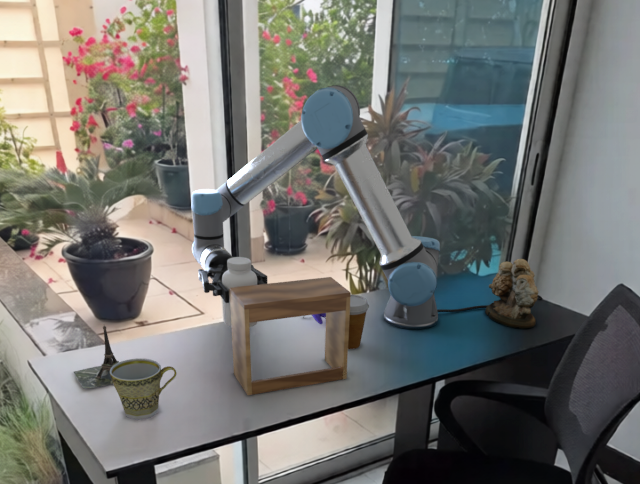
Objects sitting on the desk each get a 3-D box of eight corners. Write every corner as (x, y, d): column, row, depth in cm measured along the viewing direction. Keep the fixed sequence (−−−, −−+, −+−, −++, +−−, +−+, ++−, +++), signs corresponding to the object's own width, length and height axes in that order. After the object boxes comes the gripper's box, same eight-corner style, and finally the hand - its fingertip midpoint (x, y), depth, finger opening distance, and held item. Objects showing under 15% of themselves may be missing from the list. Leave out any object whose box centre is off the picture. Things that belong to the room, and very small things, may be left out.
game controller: (321, 319, 174) (300, 300, 179) (324, 341, 180) (303, 323, 185) (351, 302, 177) (329, 284, 182) (353, 325, 183) (332, 307, 189)
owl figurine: (472, 310, 194) (481, 253, 185) (502, 304, 199) (512, 248, 190) (514, 332, 181) (526, 271, 172) (545, 325, 186) (558, 266, 177)
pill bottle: (252, 331, 151) (250, 267, 143) (219, 327, 152) (215, 263, 144) (262, 318, 157) (261, 256, 149) (230, 314, 158) (227, 253, 151)
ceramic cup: (120, 427, 131) (113, 383, 126) (113, 404, 139) (106, 362, 134) (184, 416, 136) (180, 373, 130) (174, 395, 143) (170, 353, 138)
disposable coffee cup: (347, 334, 175) (349, 291, 169) (373, 345, 170) (377, 301, 163) (322, 343, 170) (323, 299, 163) (348, 355, 164) (350, 310, 158)
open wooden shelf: (233, 374, 153) (229, 287, 142) (328, 359, 162) (330, 276, 150) (247, 395, 144) (244, 305, 133) (346, 378, 153) (350, 292, 142)
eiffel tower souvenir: (138, 360, 157) (131, 307, 150) (151, 377, 150) (144, 323, 143) (73, 373, 151) (63, 318, 144) (84, 391, 143) (73, 335, 136)
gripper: (259, 275, 170) (289, 306, 152) (179, 283, 162) (201, 316, 145) (258, 246, 166) (289, 274, 148) (176, 253, 158) (198, 283, 141)
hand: (245, 295), depth 146 cm, fingers closed on pill bottle, 8 cm apart
